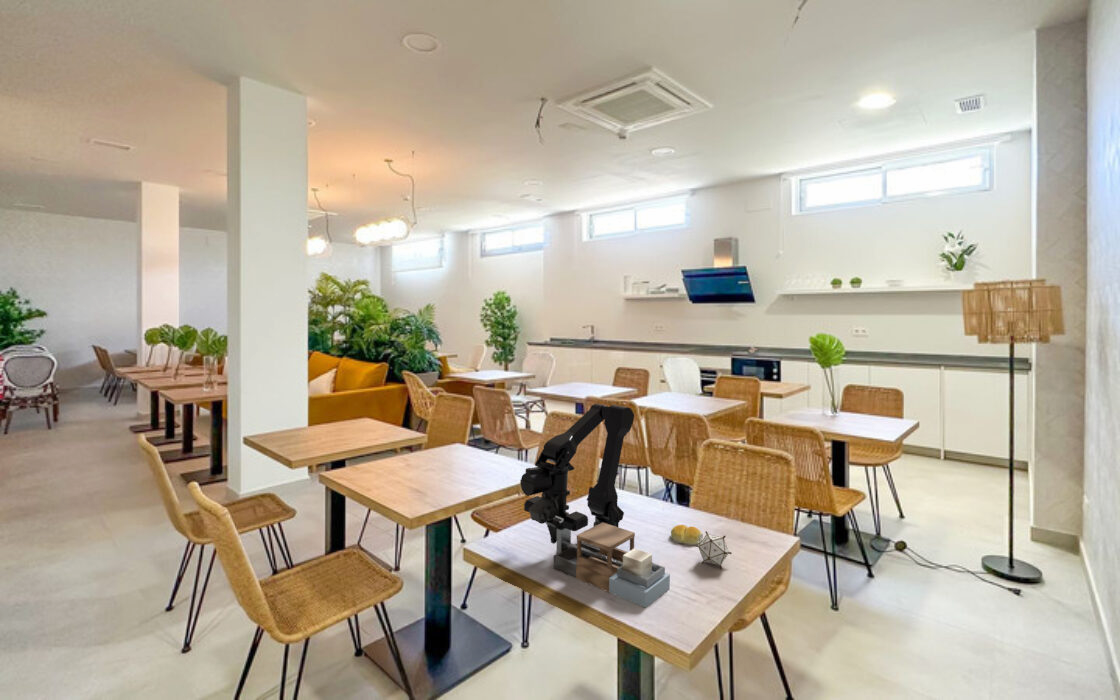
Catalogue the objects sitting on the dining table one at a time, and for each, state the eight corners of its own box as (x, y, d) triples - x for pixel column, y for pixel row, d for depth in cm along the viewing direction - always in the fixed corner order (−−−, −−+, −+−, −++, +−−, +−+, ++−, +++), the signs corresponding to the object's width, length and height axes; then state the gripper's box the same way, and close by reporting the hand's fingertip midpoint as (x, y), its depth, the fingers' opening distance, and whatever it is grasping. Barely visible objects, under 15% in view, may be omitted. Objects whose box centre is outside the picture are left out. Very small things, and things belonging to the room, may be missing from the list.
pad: (609, 592, 123) (609, 577, 122) (634, 575, 131) (634, 561, 131) (645, 607, 116) (646, 592, 116) (669, 588, 124) (669, 574, 124)
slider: (551, 560, 136) (551, 531, 136) (570, 550, 142) (571, 521, 142) (646, 599, 117) (647, 565, 117) (664, 585, 124) (665, 553, 123)
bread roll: (676, 531, 159) (676, 518, 158) (705, 538, 154) (705, 525, 154) (666, 541, 152) (666, 527, 151) (696, 548, 147) (696, 534, 147)
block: (622, 575, 123) (623, 555, 123) (633, 568, 127) (634, 548, 127) (640, 582, 120) (641, 561, 120) (651, 574, 124) (652, 554, 124)
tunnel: (553, 568, 134) (553, 527, 133) (579, 554, 142) (580, 515, 142) (609, 592, 123) (609, 547, 122) (634, 575, 131) (634, 532, 130)
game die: (713, 581, 135) (707, 560, 130) (693, 557, 142) (686, 537, 137) (740, 561, 137) (735, 540, 132) (718, 539, 144) (713, 518, 138)
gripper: (510, 485, 139) (508, 540, 141) (563, 506, 127) (560, 566, 129) (539, 475, 148) (536, 528, 149) (590, 494, 136) (587, 551, 137)
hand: (553, 542), depth 141 cm, fingers closed
